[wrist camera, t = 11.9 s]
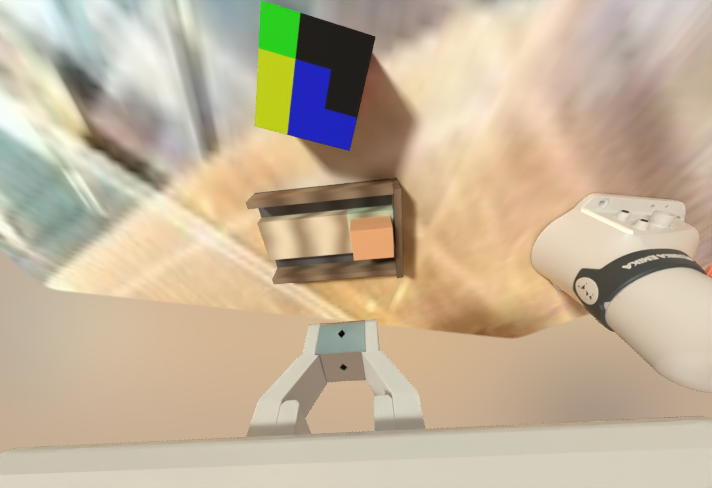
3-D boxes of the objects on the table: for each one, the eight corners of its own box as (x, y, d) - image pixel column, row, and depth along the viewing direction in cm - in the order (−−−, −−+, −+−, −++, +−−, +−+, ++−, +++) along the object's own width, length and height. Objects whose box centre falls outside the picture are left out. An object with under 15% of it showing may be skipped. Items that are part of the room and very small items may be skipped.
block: (389, 215, 40) (392, 227, 37) (391, 243, 43) (394, 257, 39) (350, 219, 40) (349, 231, 37) (354, 246, 43) (353, 260, 40)
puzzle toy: (351, 136, 37) (349, 150, 28) (279, 117, 36) (254, 126, 27) (370, 50, 32) (375, 36, 23) (288, 25, 31) (261, 0, 22)
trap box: (396, 178, 40) (401, 189, 35) (399, 260, 47) (403, 277, 43) (255, 193, 41) (243, 205, 37) (279, 270, 49) (272, 288, 44)
